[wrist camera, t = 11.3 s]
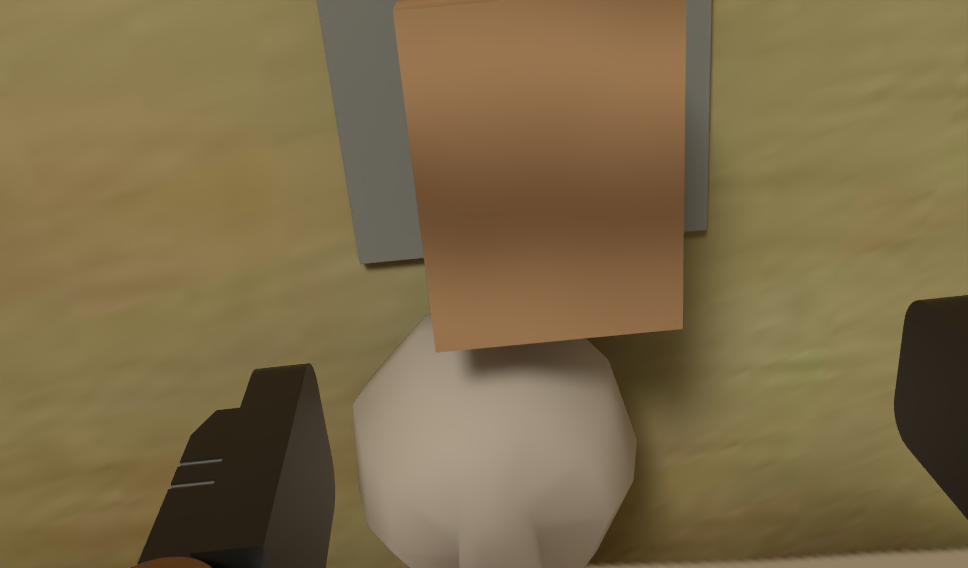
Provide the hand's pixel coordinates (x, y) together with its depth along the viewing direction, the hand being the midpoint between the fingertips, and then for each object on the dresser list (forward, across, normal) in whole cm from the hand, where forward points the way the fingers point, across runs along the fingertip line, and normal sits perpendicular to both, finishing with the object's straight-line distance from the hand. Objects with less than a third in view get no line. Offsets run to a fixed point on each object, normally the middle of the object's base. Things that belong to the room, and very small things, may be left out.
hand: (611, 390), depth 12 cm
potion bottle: (+16, +2, +10) cm, 19 cm away
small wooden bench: (+15, 0, 0) cm, 16 cm away
